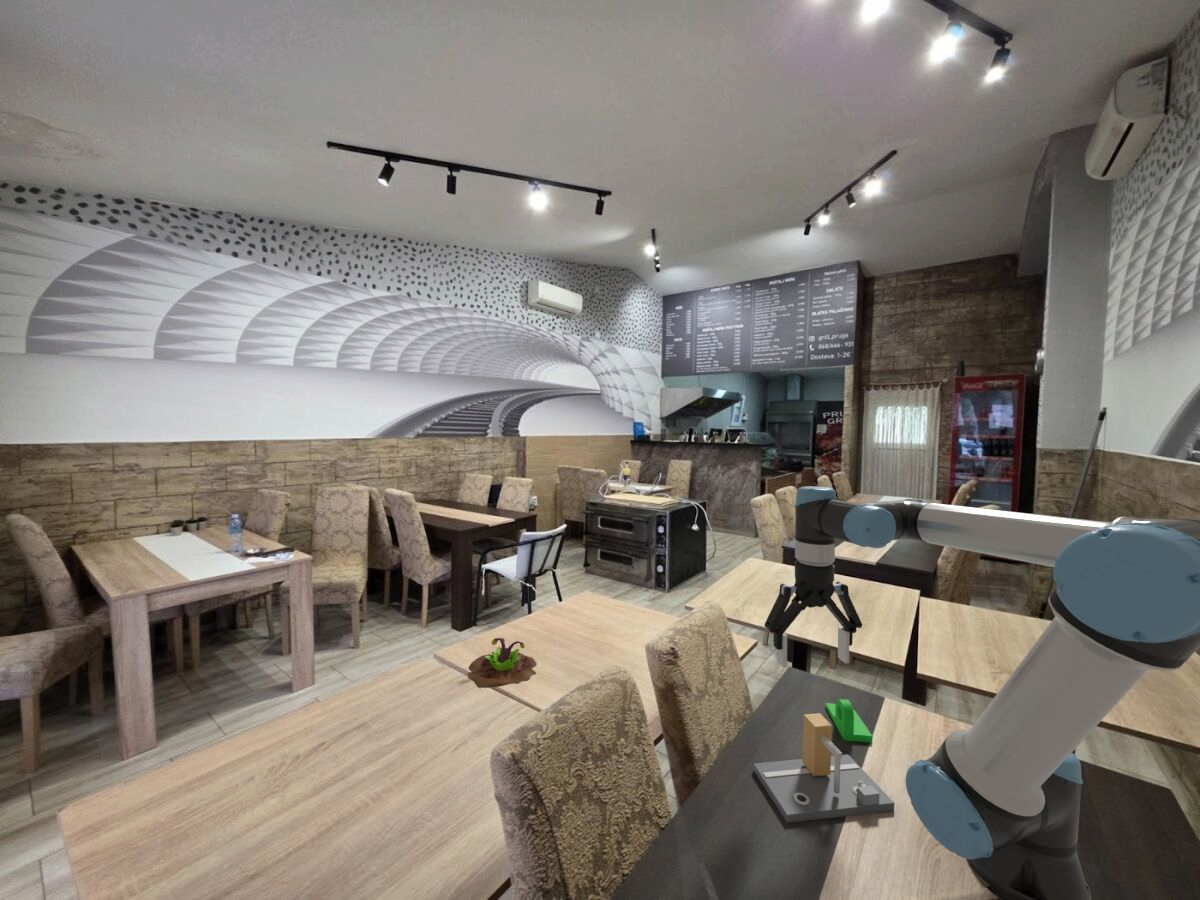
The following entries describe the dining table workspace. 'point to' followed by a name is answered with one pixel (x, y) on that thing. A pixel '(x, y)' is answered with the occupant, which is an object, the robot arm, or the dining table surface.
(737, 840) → the dining table surface
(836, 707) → the mechanical part
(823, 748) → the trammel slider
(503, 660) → the plant
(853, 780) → the plate
